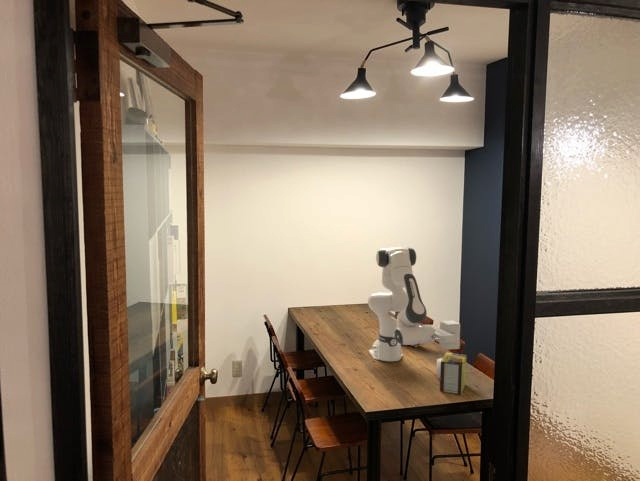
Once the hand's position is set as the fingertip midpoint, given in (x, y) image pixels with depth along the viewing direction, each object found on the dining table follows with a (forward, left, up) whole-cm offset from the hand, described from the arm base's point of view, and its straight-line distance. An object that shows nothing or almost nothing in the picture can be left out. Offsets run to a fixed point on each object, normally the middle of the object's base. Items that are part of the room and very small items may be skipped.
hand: (451, 332), depth 242 cm
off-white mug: (-13, +5, -28) cm, 31 cm away
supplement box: (0, -1, -8) cm, 8 cm away
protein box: (+1, +1, -28) cm, 28 cm away
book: (-70, +14, -28) cm, 77 cm away
